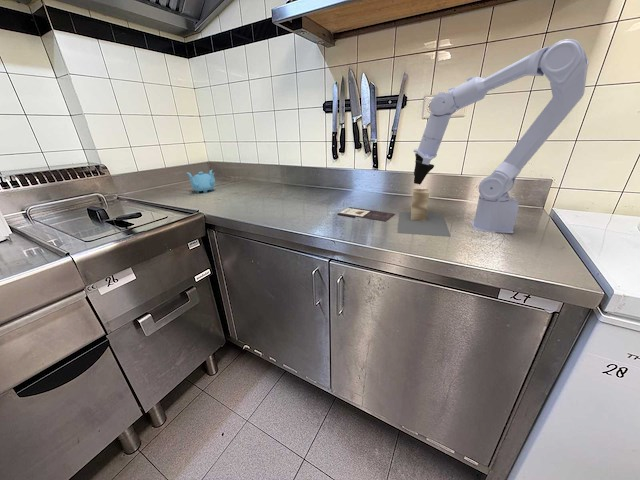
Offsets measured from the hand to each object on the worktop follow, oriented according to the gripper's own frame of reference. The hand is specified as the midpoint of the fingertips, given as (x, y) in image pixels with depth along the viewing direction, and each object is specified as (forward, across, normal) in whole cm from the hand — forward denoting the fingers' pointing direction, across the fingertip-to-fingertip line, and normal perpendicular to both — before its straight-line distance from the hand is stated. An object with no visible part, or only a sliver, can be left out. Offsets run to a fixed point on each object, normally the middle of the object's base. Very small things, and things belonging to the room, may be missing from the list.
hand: (416, 179), depth 89 cm
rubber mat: (+9, +12, +4) cm, 16 cm away
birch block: (+10, +8, +4) cm, 13 cm away
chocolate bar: (+15, +7, -13) cm, 21 cm away
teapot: (+38, -18, -98) cm, 107 cm away
